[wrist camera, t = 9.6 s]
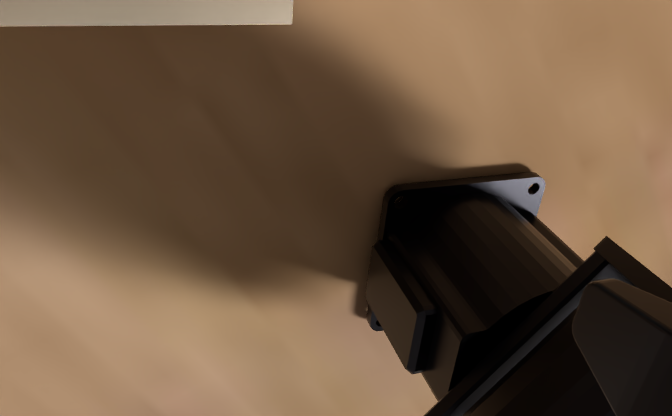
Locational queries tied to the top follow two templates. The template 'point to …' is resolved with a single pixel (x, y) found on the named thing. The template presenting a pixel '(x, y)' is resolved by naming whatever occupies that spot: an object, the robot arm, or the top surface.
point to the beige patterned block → (144, 12)
